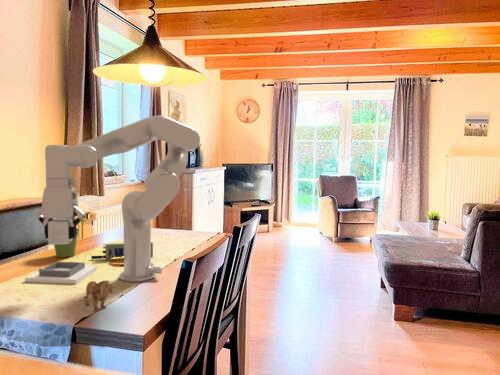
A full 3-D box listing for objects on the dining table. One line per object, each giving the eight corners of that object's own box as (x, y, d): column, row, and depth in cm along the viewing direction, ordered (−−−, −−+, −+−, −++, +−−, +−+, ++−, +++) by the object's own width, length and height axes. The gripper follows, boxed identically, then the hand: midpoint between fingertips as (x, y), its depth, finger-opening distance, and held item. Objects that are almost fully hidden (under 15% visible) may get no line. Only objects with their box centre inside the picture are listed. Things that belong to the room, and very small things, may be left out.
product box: (53, 240, 127) (52, 218, 126) (73, 239, 128) (72, 218, 128) (47, 245, 121) (47, 222, 120) (68, 244, 122) (68, 221, 122)
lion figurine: (117, 310, 111) (117, 280, 110) (100, 316, 107) (100, 284, 106) (91, 297, 120) (91, 269, 120) (74, 302, 116) (74, 273, 115)
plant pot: (82, 251, 174) (82, 227, 173) (77, 258, 162) (77, 232, 161) (54, 252, 171) (53, 227, 170) (46, 260, 159) (46, 233, 158)
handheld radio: (152, 258, 167) (91, 261, 159) (152, 256, 170) (91, 259, 163) (152, 242, 167) (90, 245, 159) (152, 241, 170) (91, 244, 162)
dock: (96, 269, 148) (96, 261, 147) (76, 283, 132) (76, 274, 132) (51, 268, 149) (51, 259, 148) (25, 281, 133) (25, 272, 132)
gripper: (91, 183, 126) (92, 236, 128) (39, 181, 127) (41, 234, 129) (80, 185, 119) (81, 241, 121) (25, 183, 120) (27, 239, 121)
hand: (60, 237), depth 125 cm, fingers closed on product box, 7 cm apart
